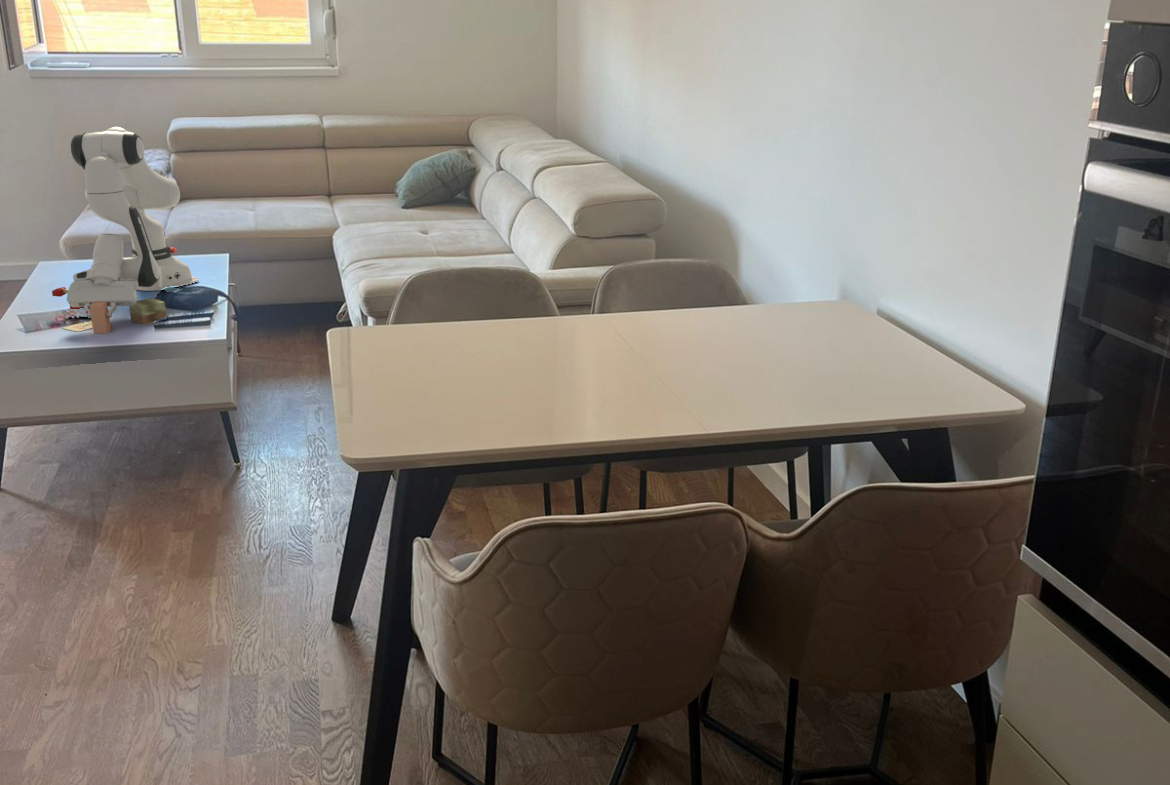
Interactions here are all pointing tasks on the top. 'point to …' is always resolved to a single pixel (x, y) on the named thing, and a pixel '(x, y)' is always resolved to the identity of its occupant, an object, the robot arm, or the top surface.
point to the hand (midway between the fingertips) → (99, 317)
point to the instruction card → (79, 326)
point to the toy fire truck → (61, 292)
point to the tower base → (147, 318)
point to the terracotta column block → (99, 317)
